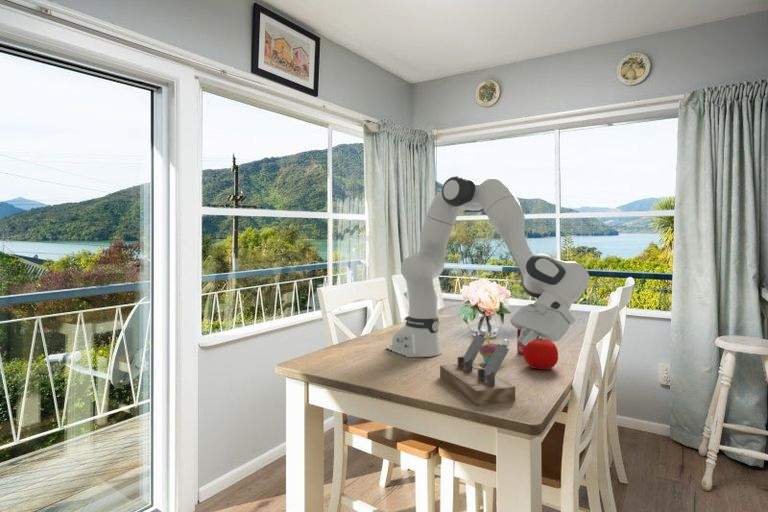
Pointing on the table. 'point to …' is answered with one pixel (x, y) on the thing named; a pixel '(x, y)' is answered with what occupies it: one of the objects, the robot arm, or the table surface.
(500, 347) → the cream knob lever
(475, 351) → the grey knob lever
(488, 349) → the cupcake
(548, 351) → the tomato
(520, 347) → the canned food
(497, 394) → the switch box
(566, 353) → the table surface
